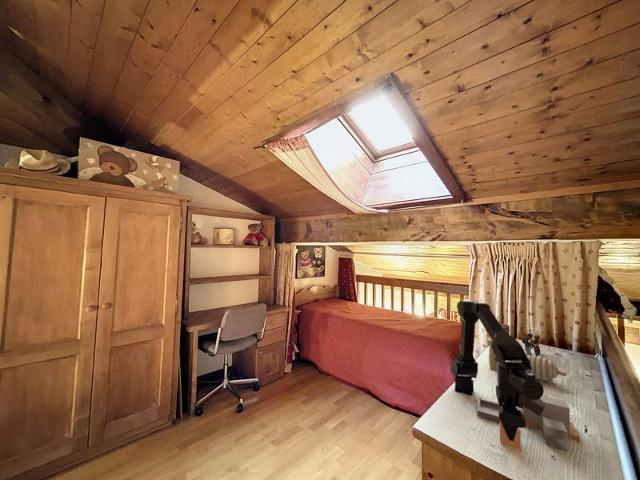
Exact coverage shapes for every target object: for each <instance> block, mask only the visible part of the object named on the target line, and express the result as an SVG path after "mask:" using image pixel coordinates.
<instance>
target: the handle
mask: <svg viewBox="0 0 640 480" xmlns="http://www.w3.org/2000/svg"><path fill="white" fill-rule="evenodd" d="M486 339H487V342H488V344H489V347H488V364H489V369H491V370H493V371H497V362H496V361H495V360H494V358H496V356H495V354H494V352H493V349H492V347H491V342H492V340H491V338H490V336H489V337H487V338H486Z"/></svg>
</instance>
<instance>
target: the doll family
mask: <svg viewBox="0 0 640 480" xmlns="http://www.w3.org/2000/svg"><path fill="white" fill-rule="evenodd" d="M526 334H527V335H521V338H522V339H521V342H522V344H524V351H525V353H526V355H527V356H528V355H531V356H533V355H536V356H541V357H542V354H541V349H540V339H541V336H540V335H539V334H535V335H534V334H533V333H531V332H529V333H526ZM532 350H533V352H534V354H533V353H532ZM540 354H541V355H540Z"/></svg>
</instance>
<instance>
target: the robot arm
mask: <svg viewBox="0 0 640 480" xmlns="http://www.w3.org/2000/svg"><path fill="white" fill-rule="evenodd" d="M456 309H457V315H458V316H459V318H460V319H461V330H460V331H461V332H460V342H459V343H460V346H459V352H458V354H457V355H455V357H454V362H453V364H452V365H451V366H450V372H451V374H452V375H453V376H454V391H455V392H457V393H461V394H465V395H469V396H473V393H474V392H475V391H474V379H477V376H478V372H479V368H478V367H479V363H478V362H477V360H476V359H475V357H474V351H475V349H474V346H475V334H476V333H475V332H476V323H477V322H478V321H480V323H481V324H482V326H483V328H484V329H485V331H486V332H487V334H488V336H489V337H490V338H491V340H492V342H491V347H492V349H493V352H494V354H495V356H496V358H494V360H495V361H496V362H498V382H497V385H496V386H495V393H496V399H497V403H499V405H500V407H499V408H498V409H499V420H500V421H501V423H502V425H503V428H504V430H505V432H506V434H507V437H508V439H509V440H511V441H514V438H515V435H516V432H517V429H518V428H520V429H525V428H527V426H526V420H525V417H524V414H523V413H522V412H521V411H520V410H517V408H520V409H523V406H524V407H525V408H527V409H529V410H531V411H532V412H534V413H535V414H536V415H538V416H541V414H542V412H543V410H544V408H545V405H544V403H543V401H542V400H541V399H540V398H541V397H542V395H543V396H544V387H543V385H542V383H541V382H540V380H538V379H537V378H536V376H535V375H534V374H532V373H530V372H528V371H527V370H532V367H531V365H530V361H529V359H528V357H527V355H526V351H525V348H523V346H522V344H521V342H519V341H518V340H517V338H515V337H514V336H512V335H509V334H507V333H506V332H505V331H504V329H503V328H502V326H501V325H500V324H501V323H500V322H499V320H498V319H497V318H496V317H495V315H494V313H493V312H492V310H491V308H490V305H489V303H487V302H479V301H477V300H463V299H462V300H459V301H458V302H457V304H456ZM511 361H522V362H511Z"/></svg>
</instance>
